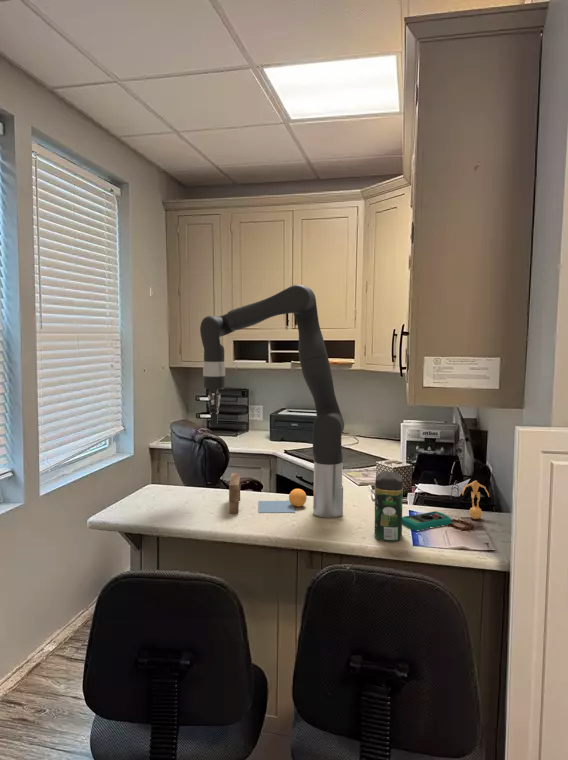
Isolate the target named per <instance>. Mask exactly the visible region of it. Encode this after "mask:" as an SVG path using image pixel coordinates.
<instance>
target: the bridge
mask: <svg viewBox="0 0 568 760" xmlns="http://www.w3.org/2000/svg"><path fill="white" fill-rule="evenodd" d="M228 501H229V502H228V514H238V513H240V509H239V508H240V507H239V505H240V502H241V473H239V472H232V473H231V475H230V479H229V484H228ZM239 501H240V502H239ZM238 515H239V514H238Z"/></svg>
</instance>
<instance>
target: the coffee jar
mask: <svg viewBox="0 0 568 760" xmlns="http://www.w3.org/2000/svg"><path fill="white" fill-rule="evenodd" d="M374 484H375V485H374V536H375V539H377V540H380V541H383V542H389V543H392V542H398V541H400V540H401V539H402V537H403V525H402V517H403V504H404V503H403V499H404V498H403V494H404V493H403V492H404V490H403V489H404V479H403V477H402V476H401V475H400V474H399V473H398V472H397V471H386V470H385V471H382V472H380V473H378V474H377V475H376V477H375V482H374Z"/></svg>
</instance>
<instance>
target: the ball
mask: <svg viewBox="0 0 568 760" xmlns="http://www.w3.org/2000/svg"><path fill="white" fill-rule="evenodd" d="M288 501H290V503H291V504H292V505H293V506H294V507H296V508H299V507H303V506H304V505H305V503H307V494H306V492H305V491H304V490H303V489H301V488H294V489H292V490H291V491H290V493H289V494H288Z"/></svg>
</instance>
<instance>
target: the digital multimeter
mask: <svg viewBox="0 0 568 760" xmlns="http://www.w3.org/2000/svg"><path fill="white" fill-rule="evenodd" d="M448 524H451V525H452V518H451V517H450V516H449V515H447V514H445V513H442V512H441V511H435V510H434V511H429V512H424V513H419V514H412V515H411V514H410V515H407V516H406V515H404V516H402V526H404V527H406V528H408V529H410V530H412V531H414V530H415V531H414V532H418V531H417V530H420V531H422V530H421V529H424V530H427V529H426V528H429V529H431V528H430V527H434V528H438V527H437V526H440V527H443V526H442V525H445V526H449V525H448Z"/></svg>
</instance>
